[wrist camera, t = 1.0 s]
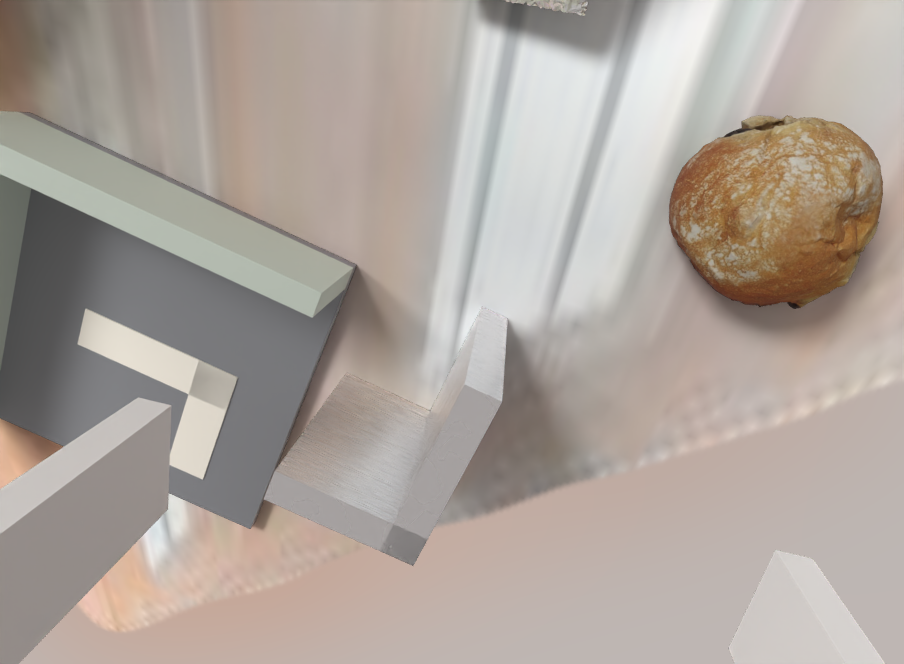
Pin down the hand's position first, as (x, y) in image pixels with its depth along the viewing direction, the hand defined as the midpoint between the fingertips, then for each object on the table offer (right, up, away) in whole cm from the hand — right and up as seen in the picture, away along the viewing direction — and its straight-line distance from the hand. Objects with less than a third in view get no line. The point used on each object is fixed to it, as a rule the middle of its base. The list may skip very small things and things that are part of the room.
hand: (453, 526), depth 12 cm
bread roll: (+18, +11, +20) cm, 29 cm away
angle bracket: (-2, +2, +25) cm, 25 cm away
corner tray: (-20, +4, +27) cm, 34 cm away
